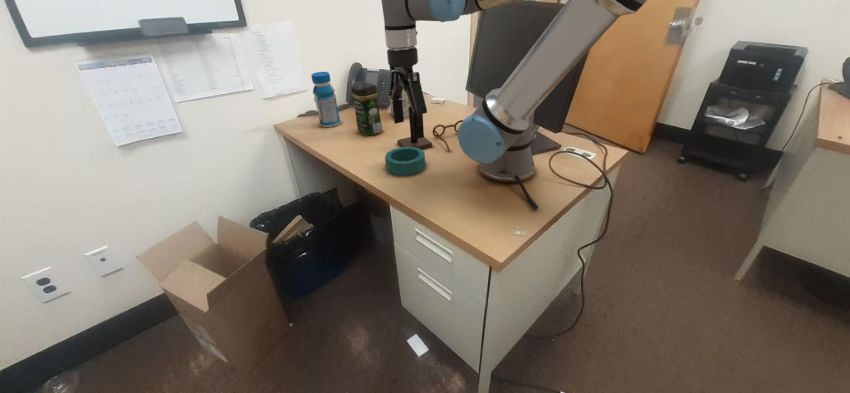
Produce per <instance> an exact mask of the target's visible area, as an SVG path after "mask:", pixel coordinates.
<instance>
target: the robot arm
mask: <svg viewBox="0 0 850 393" xmlns="http://www.w3.org/2000/svg"><path fill="white" fill-rule="evenodd" d="M523 1H524V0H381V7H382V15H383V22H384V40H385V47H386V48H388V49H387V50H386V55H387V64H388V66H389V82H388V94H387V95H388V97H390V96H391V99H392V100H393V101H392V104H393V114H394V117H393V123H394V124H401V123H405V118H404V117H403V105H402V100H401V98H403V97H402V95H401V94H402V91H403V90H404V91H406V93H407V96H408V99H409V102H410V105H411V108H412V111H413V113H412V114H411V116H412V125H413V138H414V139H418V138H423V137H425V133H424V128H425V127H424V114H427V113H428V108H427V104H426V101H425V96H424V93H423V92H424V91H423V87H422V83H421V76H420V72H419V71H415V72H414V69H413V67H414V66H415V65H417V64H418V62H419V54H418V48H417V47H416V46H417V44H418V39H417V36H418V31H417V22H419V21H420V22H421V21H423V22H440V23H445V22H455V21H457V20H459V19H460V18H461V16H468V15H471V14H475V13H478V12H483V11H485V10H489V9H494V8H498V7H502V6H506V5H510V4H514V3H515V4H516V3H519V2H523ZM647 1H648V0H567V1H566V3H565V4H564V5H563V6H562V7H561V9H560V10H559V11H558V12H557V14H556V16H555V17H554V18H553V20H551V22H550V23H549V25H548V26H547V27H546V28H545V30H544V31H543V32H542V34H541V35H540V36H539V37H538V39H537V40H536V42H535V43H534V44H533V45H532V47H530V49H529V51H528V52H527V54H526V55H524V57H523V58H522V60H521V61H520V62H519V64H517V66H516V68H515V69H513V72H512V73H511V74H510V75H509V77H508V78H507V80H506V81H505V82H503V84H502V85H501V87H499V88H498V87H497V88H493V89H491V90H490V91H489V92H488V93H487V94H486V96H485V97H484V98H483V99H482V101H481V102H480V103H479V105H478V106H477V108H475V110H474V111H473V113H471V114H470V115H468V116H466V118H464V119H462V120H463V122H460V123H459V124H460V125H459V126H458V128H457V131H458V132H457V140H458V144H459V147H460V149H461V150H462V152H463V153H464V154H465V156H467V158H468V159H470V160H472V161H474V162H475V163H479V172H480V173H481V175H482V176H483V177H484V178H487V179H488V180H491V181H494V182H498V183H506V184H507V183H508V184H512V183H518V185H519V186H520V188H521V191H522V192H523V194H524V196H525V197H526V199H527V200H528V202H529V203H530V205H531V206H532V207H533V208H534V210H538V208H539V206H538V205H537V204H536V202H535V201H534V200H533V198H532V197H531V195H530V193H529V192H528V190H527V189H526V187H525V185H524V184H523V182H524V181H527V180H529V179H530V178H533V176H534V173H535V169H536V168H535V166H536V165H535V162H534V157H533V153H532V149H531V148H532V147H531V143H532V135H533V127H534V126H533V125H534V118H535V110H536V109H537V108H538V107H539V106H540V105H541V104H542V102H543V101H544V100H545V99H546V98H547V97H548V96H549V95H550V93H552V91H554V89H555V88H556V87H557V86H558V85H559V84H560V82H561V81H563V79H565V77H566V76H567V75H568V74H569V73H570V72H571V71H572V70H573V68H574V67H575V66H576V65H577V64H578V63H579V62H580V61H581V60H582V59H583V57H584V56H585V55H586V54H587V53H588V52H589V51H590V50H591V48H593V46H594V45H595V44H596V43H597V42H598V41H599V40H600V39H601V38H602V36H604V34H606V32H607V31H608V30H609V29H610V28H611V27H612V26H613V24H614V23H615V22H616V21H617V20H618V19H619V18H621V17H623V16H627V15H633V14H636V13H637V12H638V11H639V10H640V9H641V8H642V6H643V5H644V4H646V2H647ZM399 99H400V100H399Z"/></svg>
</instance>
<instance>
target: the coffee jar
mask: <svg viewBox="0 0 850 393" xmlns="http://www.w3.org/2000/svg"><path fill="white" fill-rule="evenodd" d="M350 89H351V90H350V92H351V96H352V97H351V98H352V100H353V106H354V113H355V120H356V128H357V131H358V133H360V134H362V135H364V136H366V137H367V136H368V137H369V136H376V135H379V134H380V133H381V132H382V131H383V125H382V120H381V115H380V114H381V113H380V108H379V101H378V94H379V92H378V89H377V85H376V84H374V83H371V82H367V81H364V80H358V81H354V82H353V83H352V84H351V86H350Z"/></svg>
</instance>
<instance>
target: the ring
mask: <svg viewBox="0 0 850 393" xmlns="http://www.w3.org/2000/svg"><path fill="white" fill-rule="evenodd" d="M425 154H426V153H425V151H424V150H423V149H422V150H421V149H420V148H415V147H401V146H399V147H397V148H392V149H391V150H389V151H387V152H386V153H385V156H384V162H385V170H386V171H387V172H389V174H391V175H394V176H397V177H405V176H406V177H407V176H408V177H409V176H413V175H416V174H419V173H421V172H422V171H423V170H425V168H426V156H425Z"/></svg>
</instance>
